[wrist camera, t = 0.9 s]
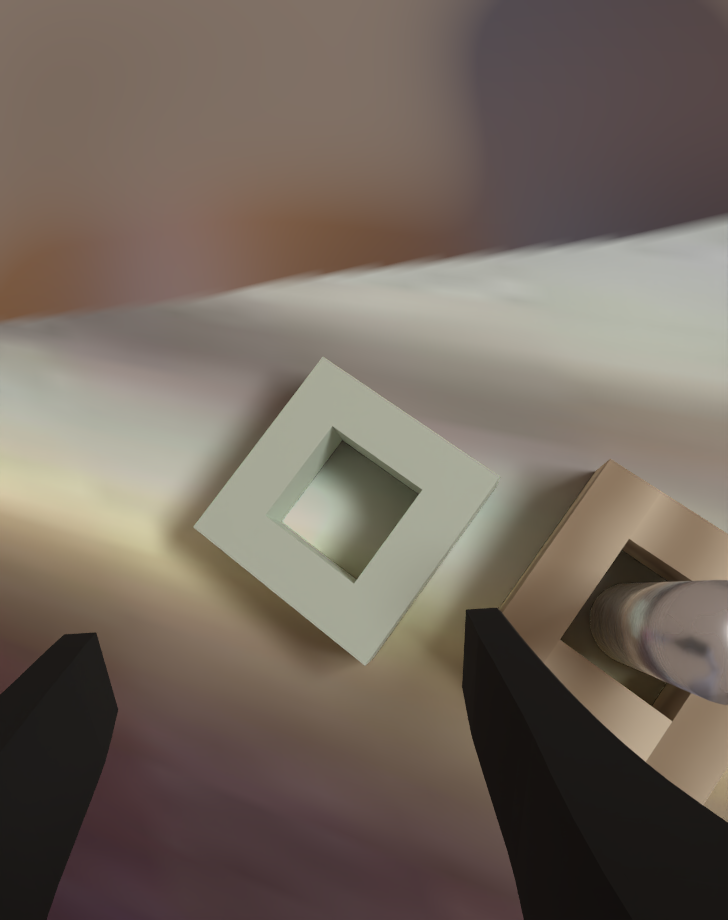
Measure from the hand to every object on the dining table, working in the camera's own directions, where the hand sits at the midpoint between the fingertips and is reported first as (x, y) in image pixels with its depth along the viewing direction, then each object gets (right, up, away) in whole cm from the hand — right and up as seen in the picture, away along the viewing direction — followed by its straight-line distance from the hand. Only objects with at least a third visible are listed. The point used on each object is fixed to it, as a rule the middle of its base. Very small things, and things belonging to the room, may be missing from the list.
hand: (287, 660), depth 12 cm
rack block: (+1, +2, +15) cm, 15 cm away
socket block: (+12, -3, +13) cm, 18 cm away
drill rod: (+12, -3, +13) cm, 18 cm away
